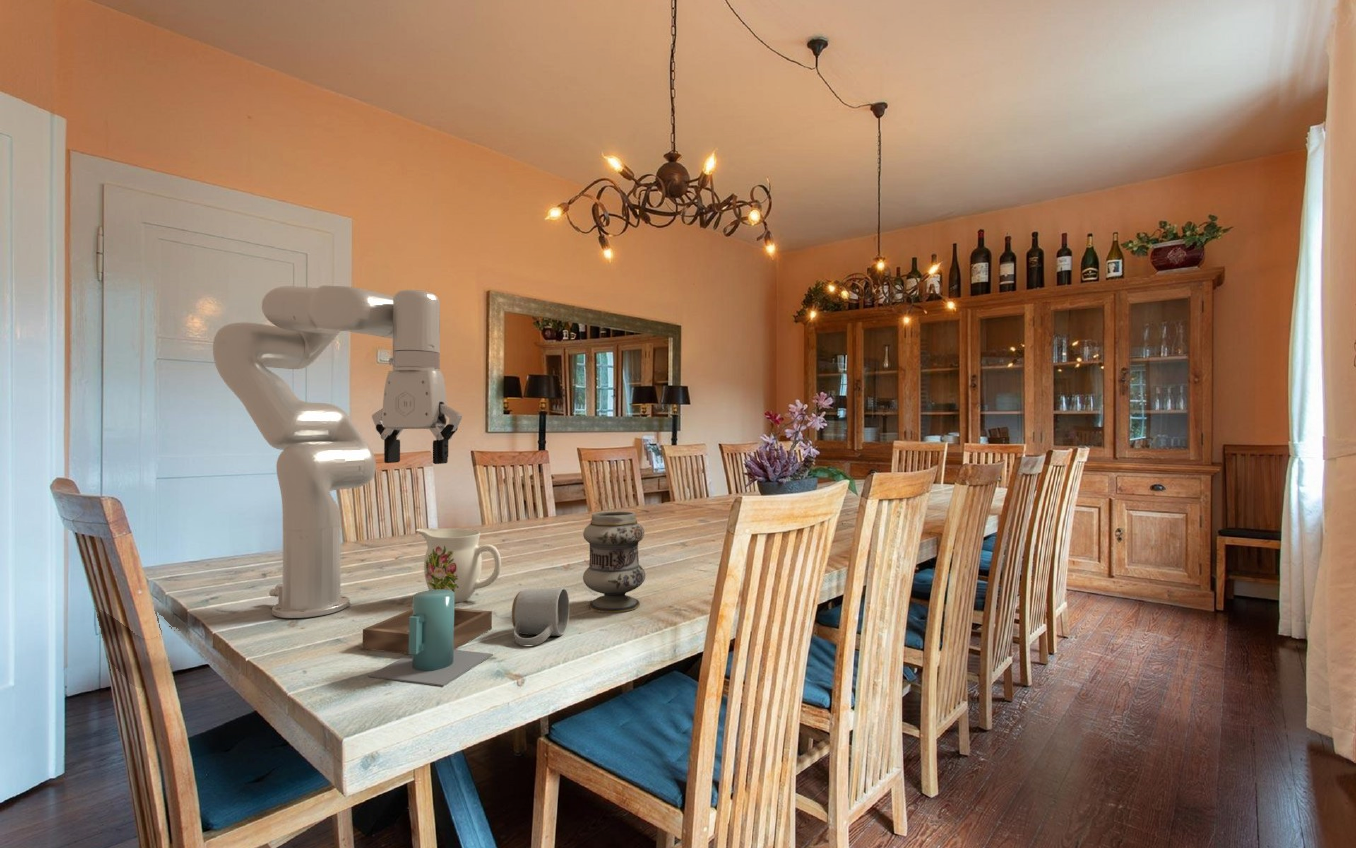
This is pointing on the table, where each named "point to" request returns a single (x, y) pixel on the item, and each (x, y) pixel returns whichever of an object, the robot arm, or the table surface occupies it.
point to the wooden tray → (395, 634)
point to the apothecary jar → (614, 560)
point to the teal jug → (432, 630)
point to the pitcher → (456, 561)
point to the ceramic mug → (540, 614)
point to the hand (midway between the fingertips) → (416, 463)
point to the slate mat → (440, 677)
